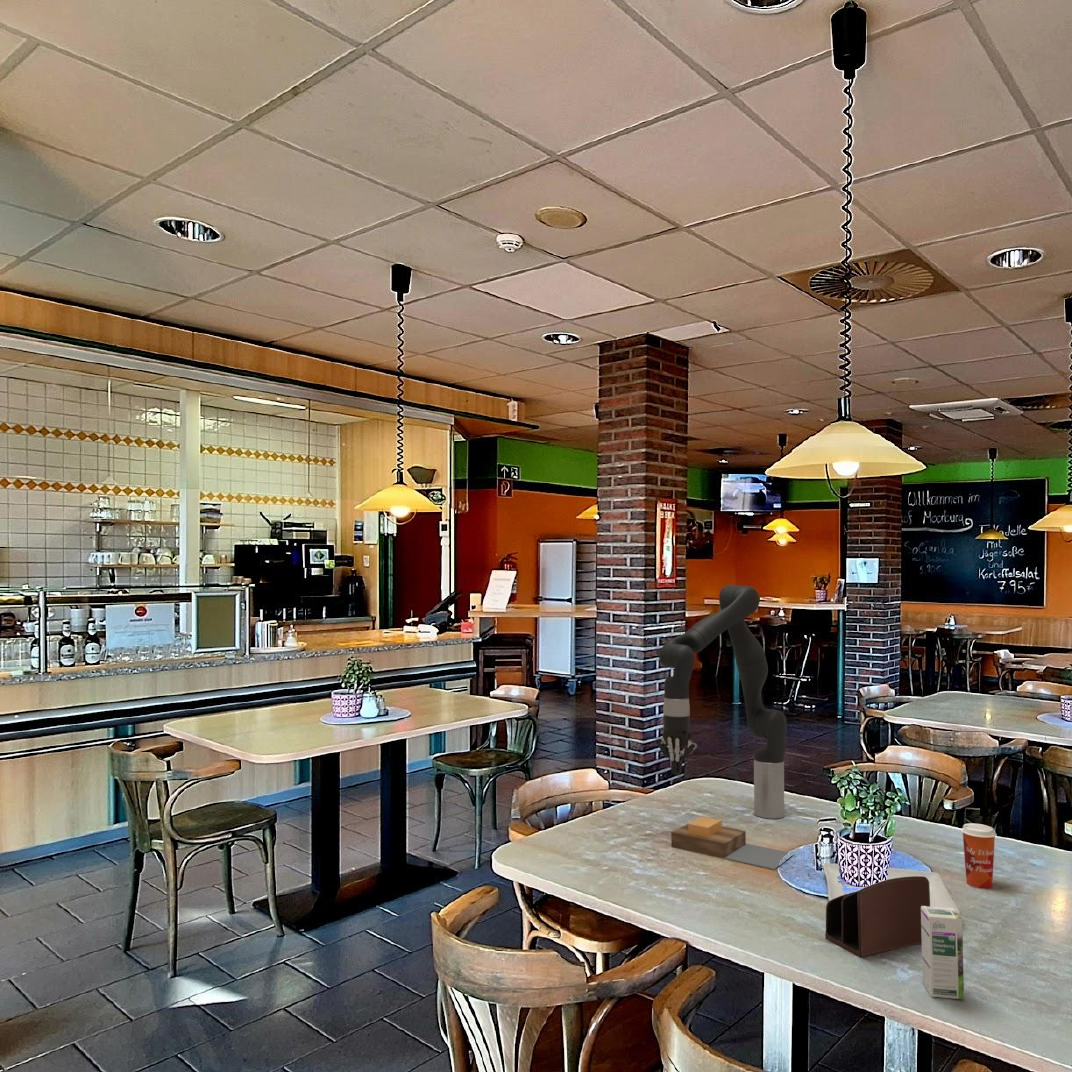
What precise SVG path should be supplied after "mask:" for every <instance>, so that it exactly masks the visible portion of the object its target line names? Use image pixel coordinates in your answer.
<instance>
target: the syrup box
mask: <svg viewBox="0 0 1072 1072" xmlns="http://www.w3.org/2000/svg"><path fill="white" fill-rule="evenodd" d="M963 928H964V927H963V919H962V917H961V915H959V914H958V913H957V912H956V911H955V910H954V909H953V908H942V907H927V906H921V935H922V943H921V967H922V968H921V969H922V977H921V978H922V984H923V986H924V987H926V988H925V989H926V991H927V993H928V994H929V996H930V997H931V998H942V999H943V998H944V999H954V1000H955V999H956V1000H962V1001H963V1000H964V999H965V989H964V987H965V984H964V983H965V982H964V980H965V979H964V942H963V941H964V937H963V936H964V935H963V934H964V933H963Z"/></svg>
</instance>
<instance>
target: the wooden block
mask: <svg viewBox="0 0 1072 1072" xmlns="http://www.w3.org/2000/svg"><path fill="white" fill-rule="evenodd" d="M693 821H694V820H693ZM693 821H690V822H689V823H691V822H693ZM689 823H687V824H685V825H683V826H680V827H679V828H676V829H675V830H673V831H672V832H670V833H671V836H670V837H671V842H670V843H671V844H670V845H671V848H674V849H675V848H676V849H680V850H684V851H689V852H693V853H698V854H702V855H707V856H712V857H716V858H721V859H724V858H725V857H726V856H728V855H730V854H731V853H733V852H734V851H736V850H737V849H739V848H740V847H742V846H744V845H745V844H747V843H746V841H747V838H746V837H747V835H746V834H747V833H746V830H743V829H737V828H732V827H728V826H723V825H722V829H721V830H720V831H718V832H716V833H714V834H713V835H711V836H709V837H706V836H701V835H696V834H692V833H688V824H689Z"/></svg>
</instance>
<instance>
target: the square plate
mask: <svg viewBox="0 0 1072 1072" xmlns="http://www.w3.org/2000/svg"><path fill="white" fill-rule="evenodd" d="M838 864H839V863H823V864H822V869H823V872H824V874H825V875H824V876H825V880H826V886H827V898H828V902H829V901H830V900H832V899H834V898H837V897H839V896H842V895H845V894H844V891H843V890H842V888H844V887H843V886H842V884H841V883H839V882H838V881H840V880H839V879H838V878H837V877H838V876H840V873H839V869H838ZM888 868H889V869H888V875H887V878H886V880H889V879H894V878H901V877H911V876H923V877H926V878H927V879H928V880H929V887H930V907H942V908H953V909H954V910H955V911H956V912H957V913H958V914H959V916H961V912H960V910H959V909H958V906H957V905H956V903H955V902H954V900H953V898H952V897H951V894H950V893H949V891H948V890H947V887H946V886H945V883H944V882H943V880H942V877H941V875H940V874H939V873H937V872H934V871H922V870H915V869H905V868H896V867H888ZM847 888H865V887H852V886H849V887H847Z"/></svg>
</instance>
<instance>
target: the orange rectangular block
mask: <svg viewBox="0 0 1072 1072" xmlns="http://www.w3.org/2000/svg"><path fill="white" fill-rule="evenodd" d="M690 822H691V823H690ZM690 822H689V824H688V823H687V824H688V833H692V834H696V835H701V836H706V837H709V836H711V835H713V834H714V833H716V832H718V831H720V830H721V829H722V826H723V820H722V819H718V818H714V817H713V818H712V817H708V816H707V817H706V816H701V817H699V818H697V819H695V820H693V822H692V821H690Z"/></svg>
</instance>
